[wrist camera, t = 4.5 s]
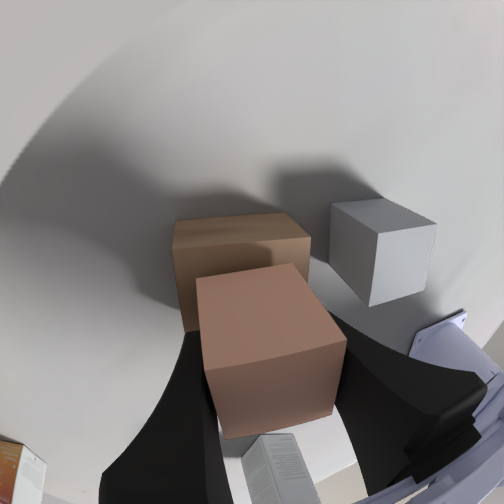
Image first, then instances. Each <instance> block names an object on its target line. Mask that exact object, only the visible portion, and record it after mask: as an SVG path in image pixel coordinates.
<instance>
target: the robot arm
mask: <svg viewBox="0 0 504 504" xmlns="http://www.w3.org/2000/svg"><path fill="white" fill-rule="evenodd" d="M327 312H328V313H329V314H330V316H331V317H332V319H333V320H334V321H335V323H336V324H337V326H338V327H339V328H340V330H341V331H342V333H343V334H344V336H345V337H346V338H347V343H346V349H345V355H344V360H343V365H342V370H341V375H340V380H339V385H338V389H337V394H336V398H335V403H334V404H335V406H336V408H337V410H338V412H339V414H340V416H341V418H342V421H343V423H344V426H345V428H346V430H347V433H348V435H349V438H350V441H351V443H352V446H353V449H354V451H355V454H356V457H357V460H358V463H359V466H360V469H361V473H362V476H363V479H364V482H365V486H366V490H367V494H368V496H369V497H367V498H365V499H363V500H360V501H358V502H355V503H353V504H394V503H396V502H398V501H400V500H402V499H404V498H406V497H407V496H409V495H411V494H413V493H414V492H416V491H418V490H420V489H421V488H423V487H425V486H426V485H428V484H429V486H428V488H427V489H426V490H424V491H422V492H421V493H419V494H418V495H416V496H415V497H413V498H411V499H410V500H409V501H408V502H407V503H405V504H479V503H480V502H481V501H482V500H483V499H484V498H485V497H486V496H487V495H489V493H490V492H491V491H492V490H493V489H494V488H496V487H502V486H504V371H502V370H501V368H500V367H499V366H498V365H497V364H496V363H495V362H494V361H493V360H491V358H490V357H489V356H488V355H487V354H486V353H485V352H484V351H483V350H482V349H481V348H480V347H479V346H478V345H477V344H476V343H475V342H474V341H472V340H471V339H470V338H469V337H468V336H467V335H466V334H465V333H464V332H463V331H462V327H463V325H464V322H465V320H466V317H467V312H466V311H463V312H461V313H459V314H457V315H455V316H453V317H450V318H448V319H446V320H444V321H441V322H439V323H437V324H435V325H432V326H430V327H428V328H425V329H423V330H420V331H419V332H418V333H417V334H416V336H415V339H414V342H413V344H412V347H411V350H410V353H409V356H406V355H403V354H401V353H399V352H397V351H394V350H392V349H390V348H388V347H386V346H384V345H382V344H380V343H378V342H376V341H375V340H373V339H371V338H369V337H367V336H366V335H364V334H362V333H361V332H359V331H358V330H356V329H354V328H353V327H351V326H350V325H348V324H347V323H345V322H344V321H342V320H341V319H339V318H338V317H337V316H335V315H334V314H332V313H331V312H329V311H328V310H327ZM99 504H234V503H233V499H232V495H231V491H230V487H229V483H228V479H227V474H226V470H225V465H224V461H223V456H222V451H221V446H220V440H219V431H218V418H217V412H216V409H215V405H214V402H213V399H212V395H211V392H210V389H209V385H208V382H207V378H206V375H205V371H204V363H203V354H202V345H201V335H200V330H196V331H190V332H187V333H186V334H185V336H184V340H183V344H182V348H181V351H180V354H179V357H178V360H177V362H176V365H175V368H174V370H173V373H172V375H171V378H170V380H169V382H168V384H167V386H166V388H165V391H164V393H163V395H162V397H161V399H160V400H159V402H158V404H157V406H156V407H155V409H154V411H153V413H152V414H151V416H150V417H149V419H148V420H147V422H146V423H145V425H144V426H143V428H142V429H141V431H140V432H139V433H138V435H137V436H136V437H135V438H134V440H133V441H132V442H131V443H130V445H129V446H128V447H127V448H126V449H125V451H124V452H123V453H122V454H121V455H120V456H119V457H118V458H117V459H116V460H115V461H114V462H113V463H112V464H111V465H110V466H109V467H108V468H107V469H106V470H105V471H104V472H103V473H102V477H101V482H100V487H99Z"/></svg>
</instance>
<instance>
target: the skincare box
mask: <svg viewBox="0 0 504 504" xmlns="http://www.w3.org/2000/svg"><path fill="white" fill-rule="evenodd" d="M241 463H242V467H243V471H244V475H245V479H246V482H247V486H248V490H249V494H250V497H251V501H252V504H322V503H321V501H320V498H319V496H318V494H317V491H316V489H315V487H314V484H313V481H312V479H311V476H310V474H309V471H308V469H307V467H306V464H305V462H304V459H303V457H302V454H301V452H300V449H299V447H298V444H297V442H296V439H295V436H294V435H293V434H279V435H260V436H259V437H258V439H257V440H256V441H255V442H254V443H253V445H252V446H251V447H250V448H249V450H248V451H247V452H246V453H245V454H244V455H243V457H242V458H241Z"/></svg>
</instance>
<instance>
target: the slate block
mask: <svg viewBox="0 0 504 504" xmlns="http://www.w3.org/2000/svg"><path fill="white" fill-rule="evenodd" d="M436 229H437V224H436V223H434V222H433V221H431V220H429V219H427V218H425V217H423V216H421V215H419V214H417V213H415V212H413V211H411V210H409V209H407V208H405V207H403V206H401V205H398V204H396V203H394V202H392V201H390V200H388V199H386V198H378V199H368V200H357V201H347V202H338V203H330V241H329V265H330V266H331V267H332V268H333V269H334V270H335V272H336V273H337V274H338V275H339V276H340V277H341V278H342V279H343V280H344V281H345V282H346V283H347V284H348V285H349V287H350V288H351V289H352V290H353V291H354V292H355V293H356V294H357V295H358V296H359V297H360V299H361V300H362V301H363V302H364V303H365V304H366V305H367V306H368V307H371V306H375V305H378V304H381V303H385V302H388V301H392V300H395V299H398V298H401V297H405V296H408V295H411V294H414V293H417V292H420V291H423V290H424V289H425V285H426V280H427V276H428V272H429V267H430V262H431V257H432V252H433V247H434V241H435V235H436Z"/></svg>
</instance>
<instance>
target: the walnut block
mask: <svg viewBox="0 0 504 504" xmlns="http://www.w3.org/2000/svg"><path fill="white" fill-rule="evenodd" d="M310 246H311V236H310V235H309V234H308V233H307V232H306V231H305V230H304V229H302V228H301V227H300V226H299V225H298V224H297V223H296V222H295V221H294V220H293V219H292V218H291V217H290V216H289V215H288V214H287V213H285V212H277V213H262V214H248V215H234V216H222V217H209V218H198V219H187V220H176V221H175V226H174V234H173V242H172V256H173V264H174V271H175V277H176V284H177V290H178V297H179V303H180V309H181V314H182V320H183V325H184V331H185V334H186V333H187V332H190V331H196V330H200V324H199V313H198V301H197V288H196V278H202V277H208V276H214V275H221V274H227V273H233V272H240V271H246V270H252V269H258V268H264V267H270V266H276V265H282V264H288V263H293V265H294V266H295V267H296V269H297V270H298V271H299V273H300V274H301V276H302V277H303V278H304V280H305V281H306V282H308V271H309V259H310Z"/></svg>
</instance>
